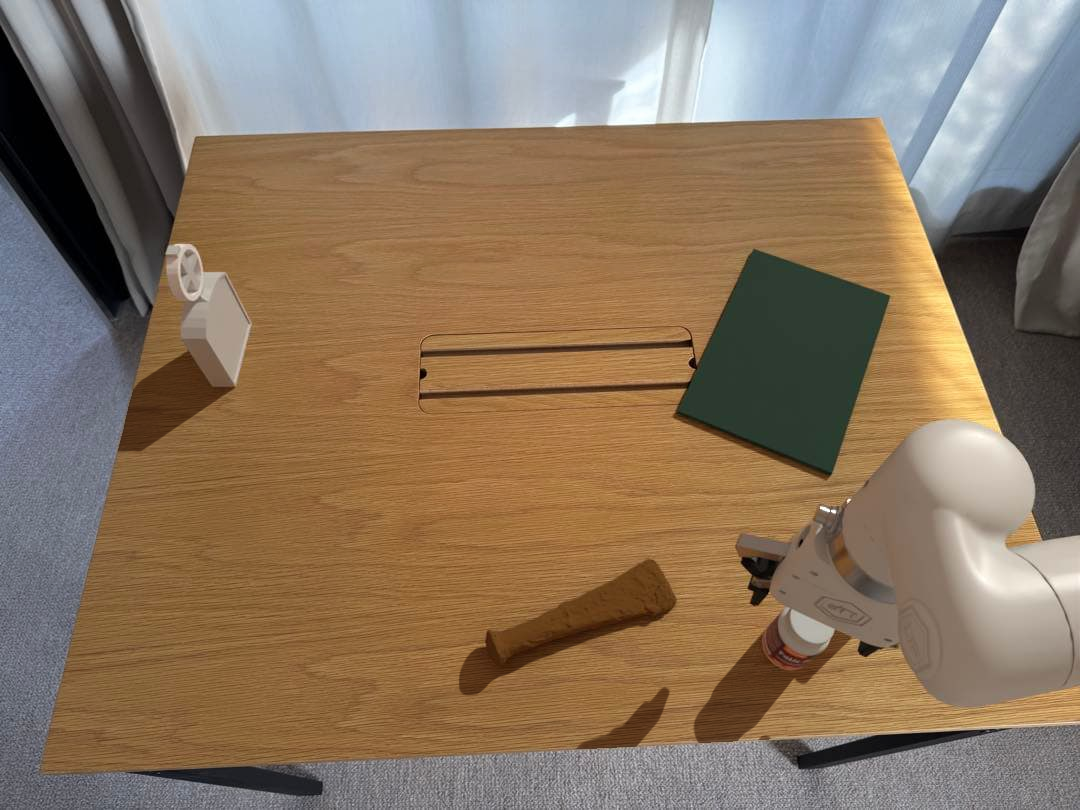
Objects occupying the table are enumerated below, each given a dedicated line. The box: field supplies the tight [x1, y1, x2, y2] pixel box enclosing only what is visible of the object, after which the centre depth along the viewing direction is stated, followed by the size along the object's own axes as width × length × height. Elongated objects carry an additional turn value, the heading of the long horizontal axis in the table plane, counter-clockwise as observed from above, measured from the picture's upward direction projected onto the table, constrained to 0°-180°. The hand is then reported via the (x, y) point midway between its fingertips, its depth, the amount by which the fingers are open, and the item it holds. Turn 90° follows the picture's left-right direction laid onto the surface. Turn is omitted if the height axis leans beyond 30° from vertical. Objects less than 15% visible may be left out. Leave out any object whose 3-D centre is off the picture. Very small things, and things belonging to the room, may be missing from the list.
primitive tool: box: [484, 558, 677, 668], centre depth 74 cm, size 19×6×4 cm, turn 115°
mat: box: [676, 248, 891, 476], centre depth 93 cm, size 18×28×1 cm, turn 154°
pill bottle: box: [761, 606, 836, 671], centre depth 71 cm, size 5×5×8 cm
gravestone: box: [165, 243, 253, 388], centre depth 85 cm, size 3×9×18 cm, turn 0°
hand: (810, 614), depth 67 cm, fingers open, 9 cm apart
